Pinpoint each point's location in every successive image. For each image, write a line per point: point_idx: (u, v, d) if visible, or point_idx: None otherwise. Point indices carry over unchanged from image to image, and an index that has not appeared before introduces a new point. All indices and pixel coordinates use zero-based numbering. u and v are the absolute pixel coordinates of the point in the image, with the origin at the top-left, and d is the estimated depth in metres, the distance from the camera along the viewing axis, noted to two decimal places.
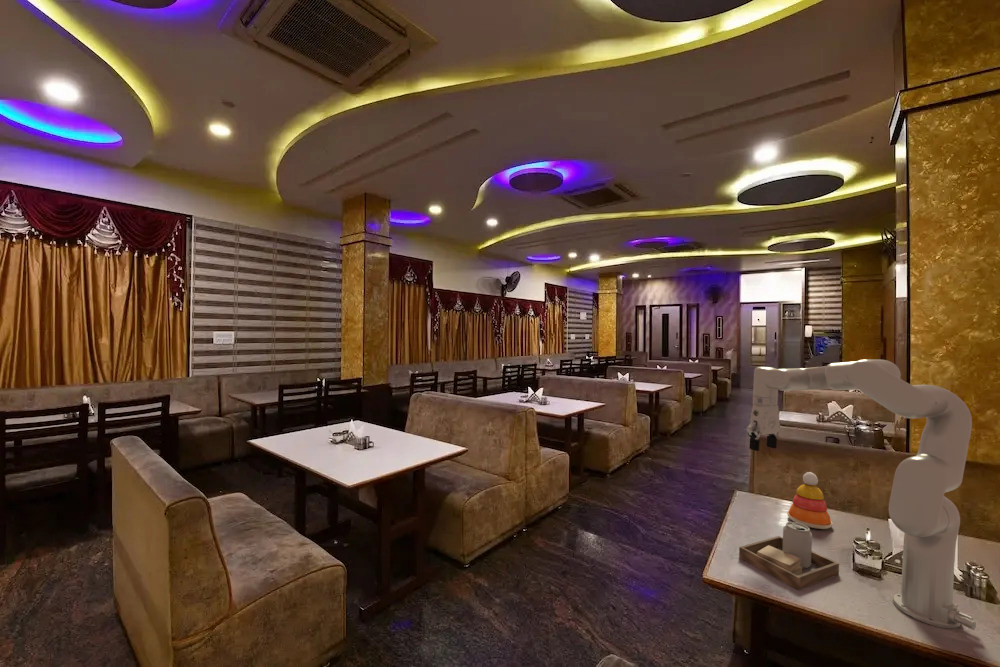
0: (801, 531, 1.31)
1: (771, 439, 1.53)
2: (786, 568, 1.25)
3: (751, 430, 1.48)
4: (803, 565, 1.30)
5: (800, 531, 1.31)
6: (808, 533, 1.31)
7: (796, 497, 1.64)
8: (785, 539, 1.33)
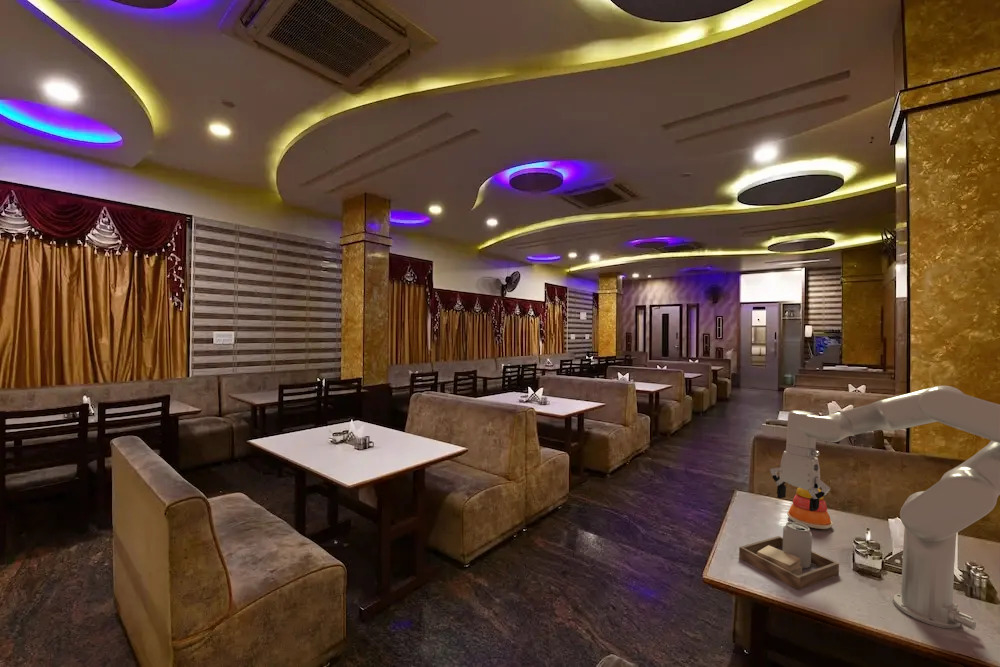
0: (801, 531, 1.31)
1: (783, 489, 1.38)
2: (786, 568, 1.25)
3: None
4: (803, 565, 1.30)
5: (800, 531, 1.31)
6: (808, 533, 1.31)
7: (796, 497, 1.64)
8: (785, 539, 1.33)
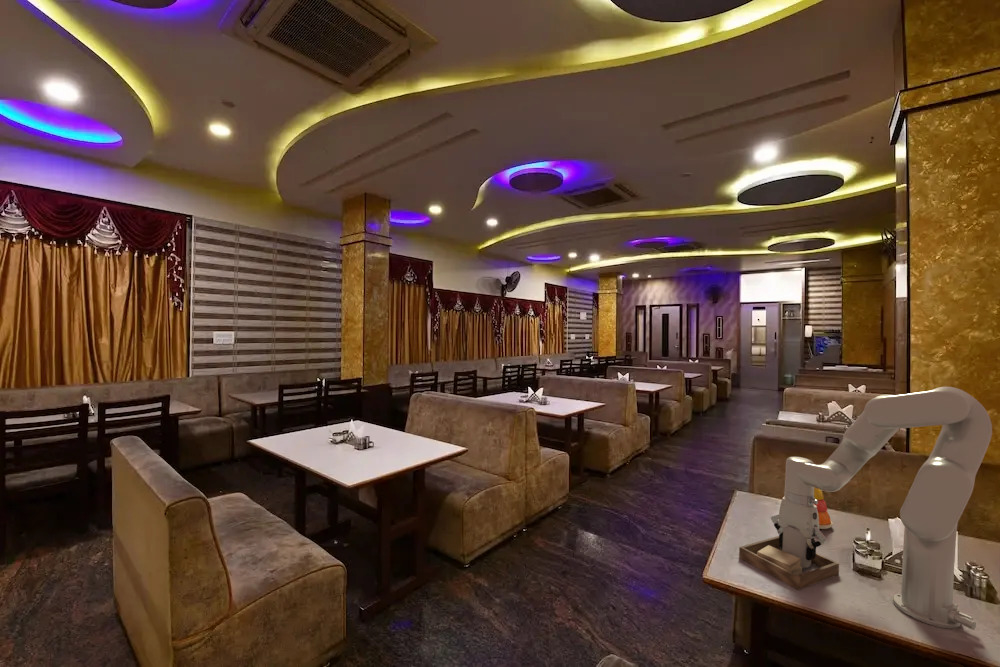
0: None
1: None
2: (786, 568, 1.25)
3: None
4: (803, 565, 1.30)
5: None
6: None
7: None
8: (785, 539, 1.33)
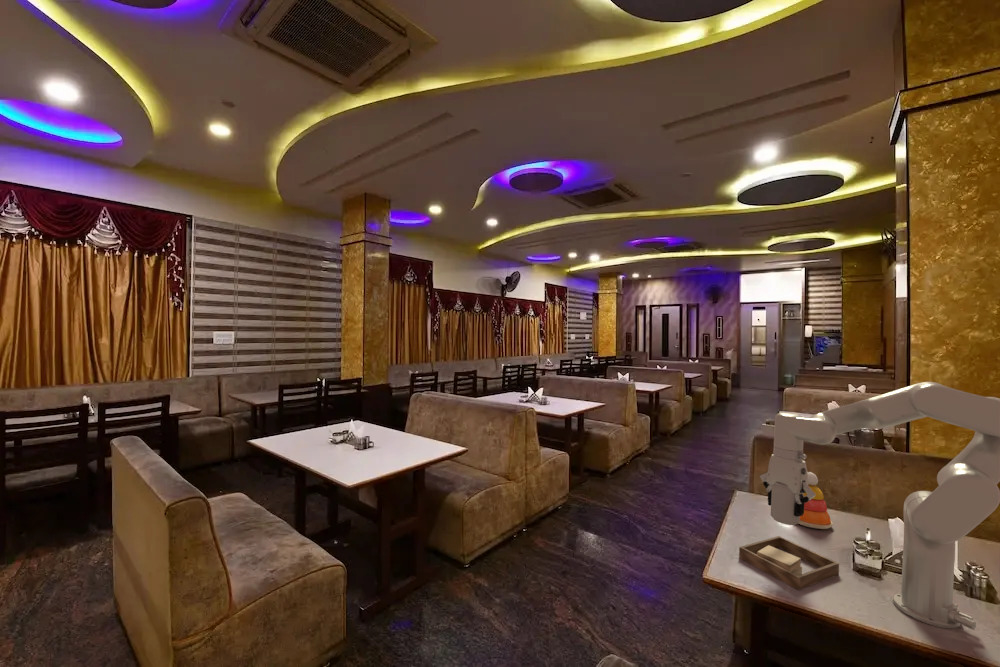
0: None
1: None
2: (786, 568, 1.25)
3: None
4: (791, 521, 1.27)
5: None
6: None
7: None
8: (773, 496, 1.31)
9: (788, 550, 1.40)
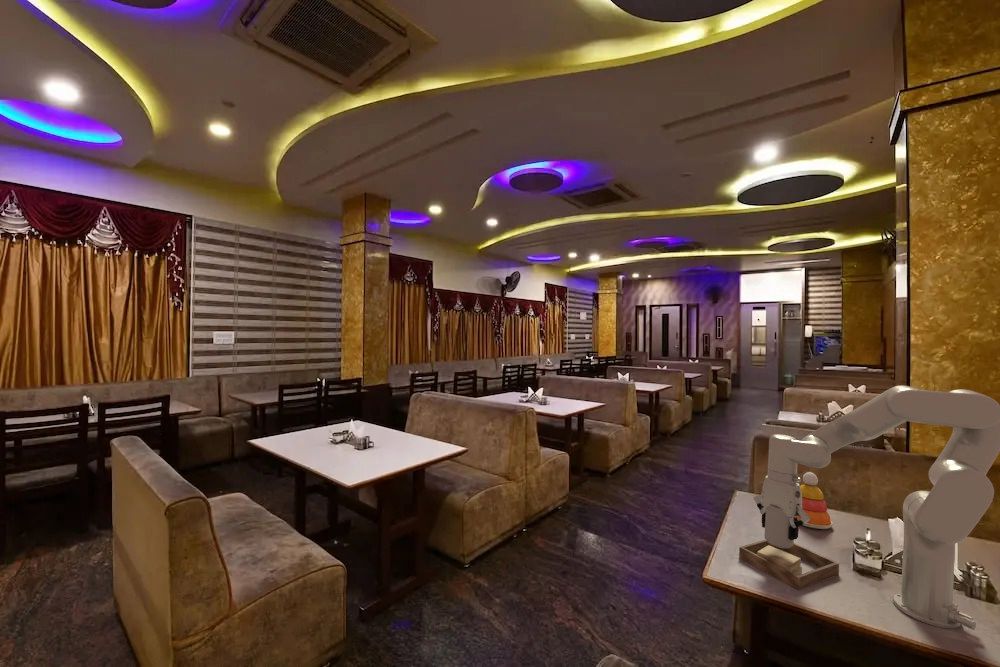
0: None
1: None
2: (786, 568, 1.25)
3: None
4: (785, 545, 1.26)
5: None
6: None
7: None
8: (767, 519, 1.30)
9: (788, 550, 1.40)
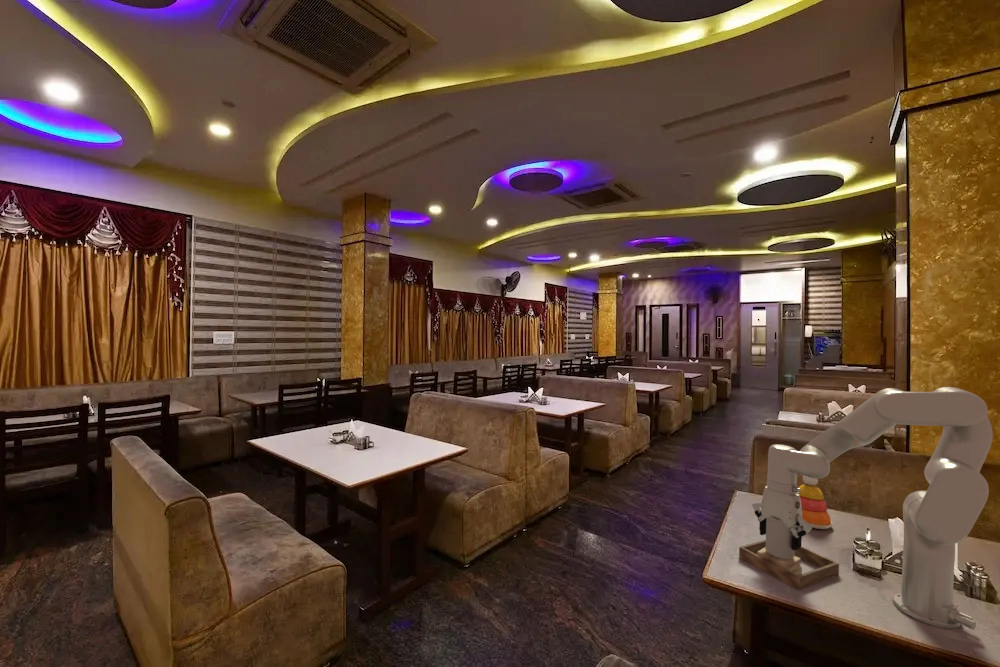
0: None
1: (765, 525, 1.34)
2: (786, 568, 1.25)
3: None
4: (786, 557, 1.26)
5: None
6: None
7: None
8: (768, 531, 1.30)
9: None
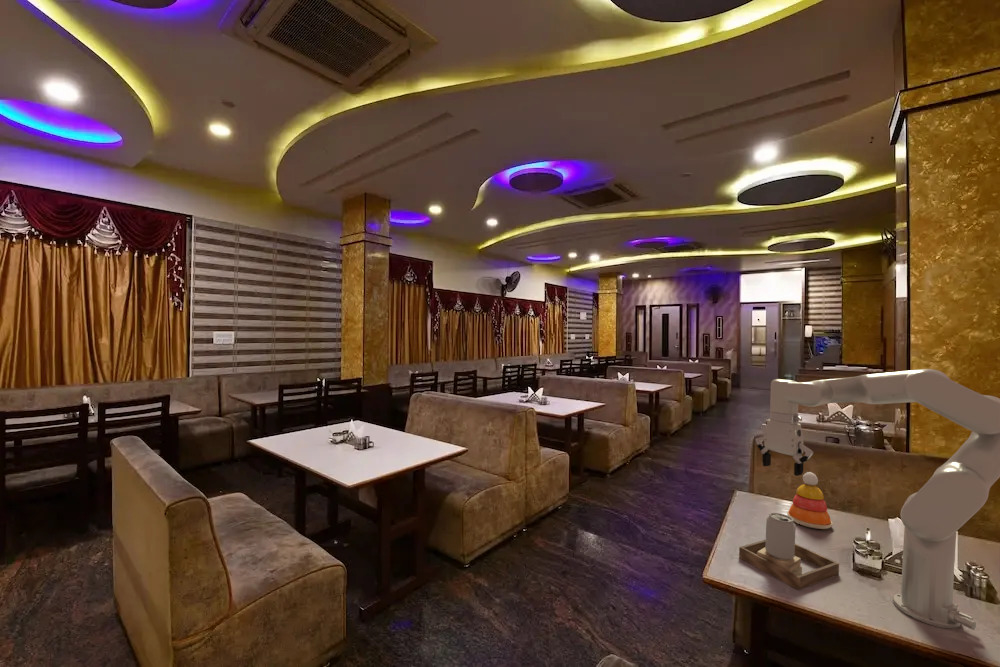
0: (784, 522, 1.27)
1: (768, 457, 1.41)
2: (786, 568, 1.25)
3: None
4: (786, 557, 1.26)
5: (784, 522, 1.27)
6: (791, 524, 1.27)
7: (796, 497, 1.64)
8: (768, 531, 1.30)
9: None
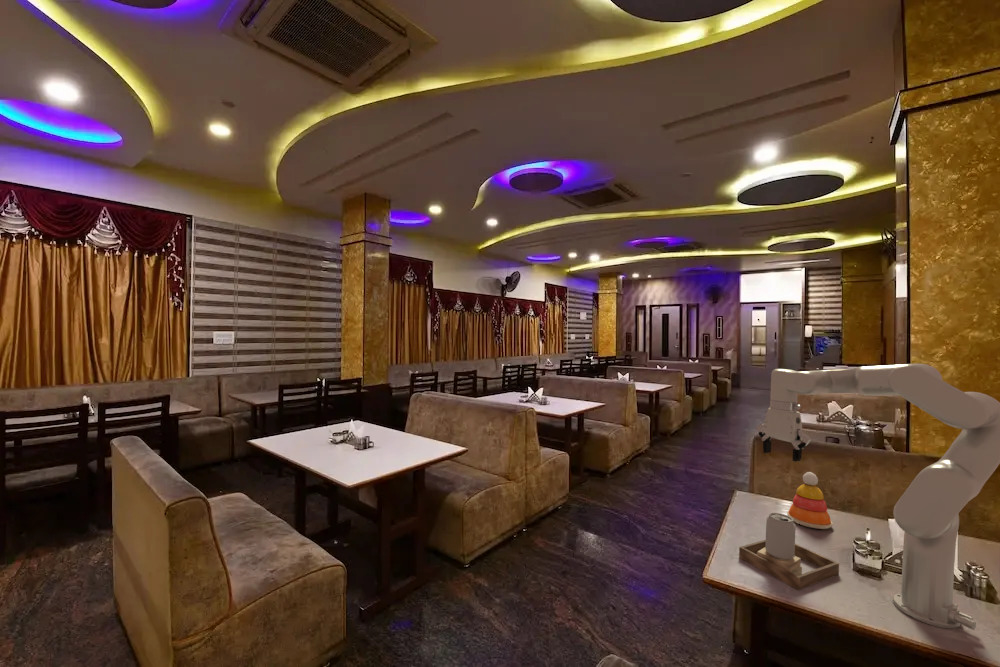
0: (784, 522, 1.27)
1: (768, 444, 1.46)
2: (786, 568, 1.25)
3: None
4: (786, 557, 1.26)
5: (784, 522, 1.27)
6: (791, 524, 1.27)
7: (796, 497, 1.64)
8: (768, 531, 1.30)
9: None
